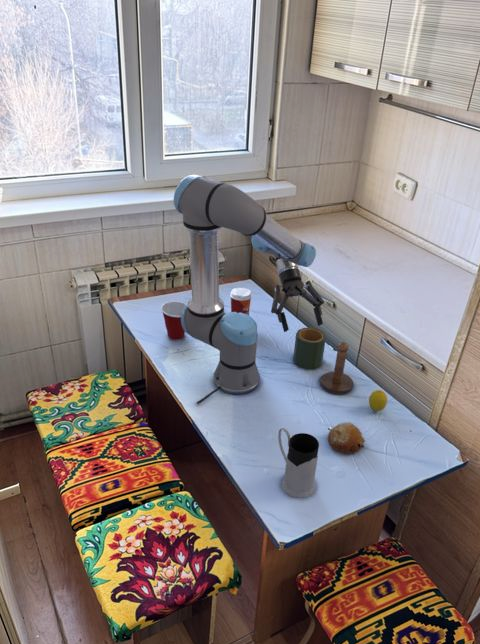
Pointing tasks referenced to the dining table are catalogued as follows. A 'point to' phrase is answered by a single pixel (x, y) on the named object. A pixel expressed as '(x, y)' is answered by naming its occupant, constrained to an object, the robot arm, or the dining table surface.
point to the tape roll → (309, 348)
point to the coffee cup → (240, 300)
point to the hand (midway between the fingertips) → (303, 327)
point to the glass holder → (300, 464)
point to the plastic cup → (173, 319)
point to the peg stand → (338, 374)
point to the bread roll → (346, 438)
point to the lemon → (378, 400)
